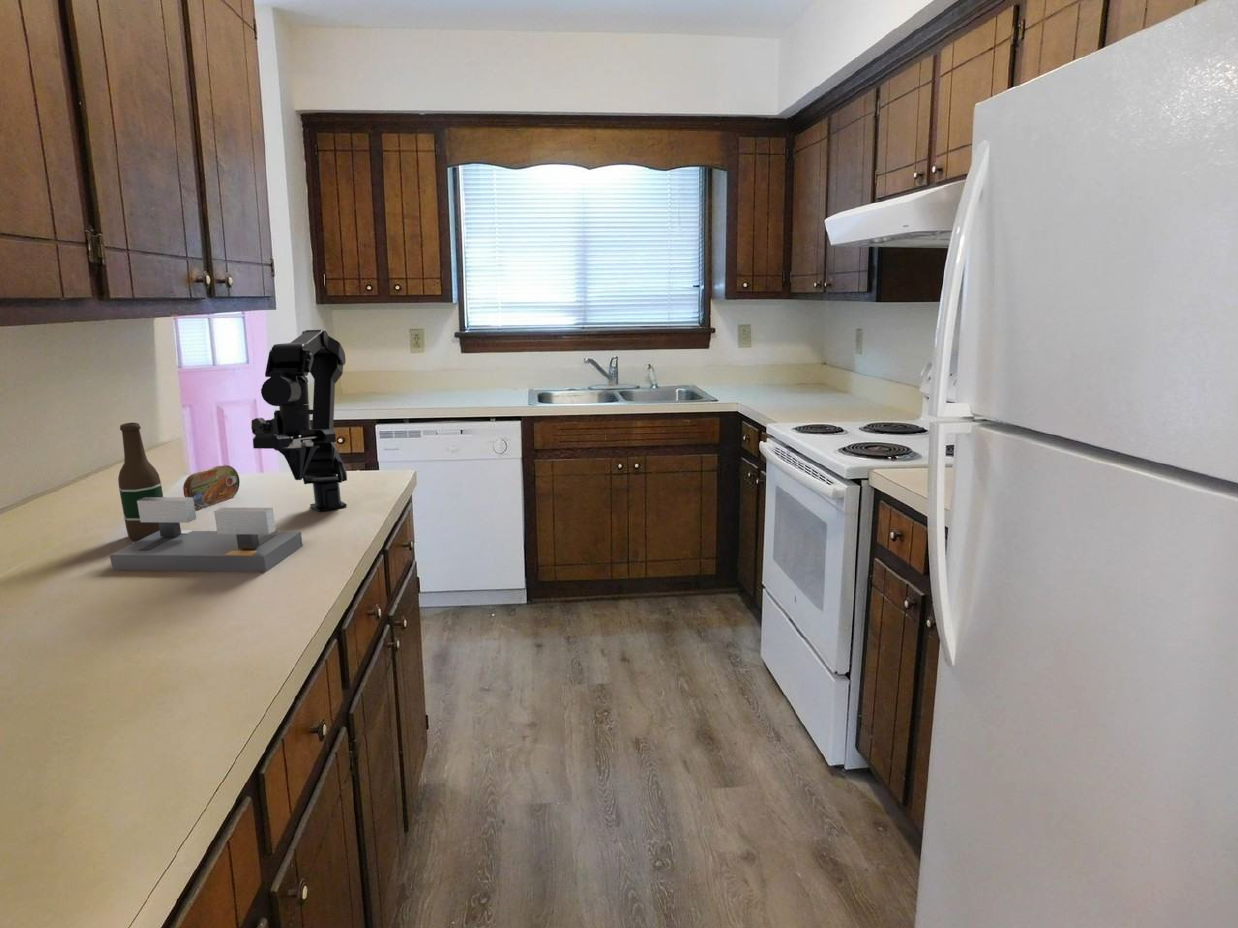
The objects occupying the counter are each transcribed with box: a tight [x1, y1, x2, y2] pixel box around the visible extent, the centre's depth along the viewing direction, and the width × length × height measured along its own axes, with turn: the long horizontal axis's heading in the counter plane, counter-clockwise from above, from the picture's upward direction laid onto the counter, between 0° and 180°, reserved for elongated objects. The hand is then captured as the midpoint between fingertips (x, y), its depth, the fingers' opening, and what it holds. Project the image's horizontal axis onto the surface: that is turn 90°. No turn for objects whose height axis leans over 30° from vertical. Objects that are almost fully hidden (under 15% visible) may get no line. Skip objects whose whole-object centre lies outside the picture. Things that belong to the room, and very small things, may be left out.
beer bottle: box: [117, 422, 164, 542], centre depth 164 cm, size 8×8×24 cm
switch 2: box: [213, 507, 277, 549], centre depth 147 cm, size 2×10×7 cm, turn 85°
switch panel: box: [109, 529, 304, 573], centre depth 152 cm, size 14×30×3 cm, turn 85°
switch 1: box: [137, 496, 197, 537], centre depth 155 cm, size 2×10×7 cm, turn 85°
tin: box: [182, 464, 240, 509], centre depth 190 cm, size 15×3×8 cm, turn 162°
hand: (298, 479), depth 165 cm, fingers closed
